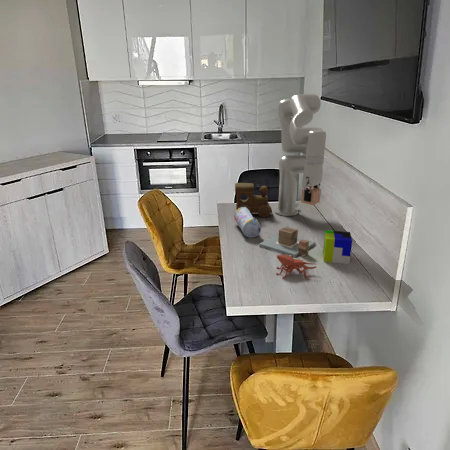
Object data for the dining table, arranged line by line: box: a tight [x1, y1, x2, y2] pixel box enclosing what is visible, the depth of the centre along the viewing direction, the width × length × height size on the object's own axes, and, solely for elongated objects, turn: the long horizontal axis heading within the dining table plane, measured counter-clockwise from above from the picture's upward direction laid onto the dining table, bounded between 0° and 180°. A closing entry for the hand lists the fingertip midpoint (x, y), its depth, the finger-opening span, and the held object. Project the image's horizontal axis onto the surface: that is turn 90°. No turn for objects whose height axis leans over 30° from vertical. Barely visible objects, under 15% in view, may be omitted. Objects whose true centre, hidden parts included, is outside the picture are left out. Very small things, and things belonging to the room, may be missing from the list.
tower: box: [298, 238, 310, 257], centre depth 167 cm, size 3×3×6 cm
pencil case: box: [233, 207, 262, 238], centre depth 193 cm, size 21×9×10 cm, turn 12°
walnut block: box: [278, 226, 299, 246], centre depth 176 cm, size 6×6×6 cm
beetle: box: [275, 239, 318, 280], centre depth 150 cm, size 15×12×13 cm
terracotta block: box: [300, 187, 322, 206], centre depth 178 cm, size 6×6×6 cm
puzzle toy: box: [322, 229, 353, 265], centre depth 164 cm, size 10×10×10 cm
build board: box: [258, 233, 317, 258], centre depth 177 cm, size 18×18×1 cm
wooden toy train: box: [234, 182, 273, 218], centre depth 215 cm, size 20×11×17 cm, turn 89°
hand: (310, 199), depth 179 cm, fingers closed on terracotta block, 6 cm apart
